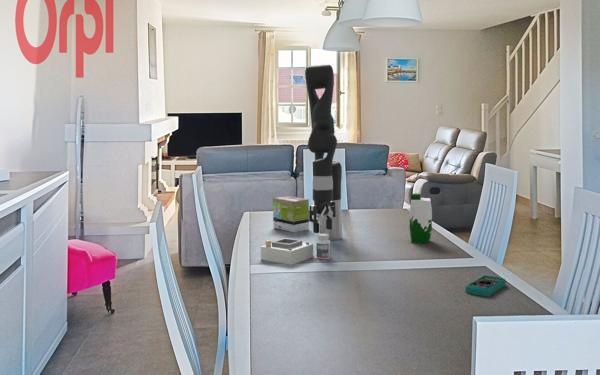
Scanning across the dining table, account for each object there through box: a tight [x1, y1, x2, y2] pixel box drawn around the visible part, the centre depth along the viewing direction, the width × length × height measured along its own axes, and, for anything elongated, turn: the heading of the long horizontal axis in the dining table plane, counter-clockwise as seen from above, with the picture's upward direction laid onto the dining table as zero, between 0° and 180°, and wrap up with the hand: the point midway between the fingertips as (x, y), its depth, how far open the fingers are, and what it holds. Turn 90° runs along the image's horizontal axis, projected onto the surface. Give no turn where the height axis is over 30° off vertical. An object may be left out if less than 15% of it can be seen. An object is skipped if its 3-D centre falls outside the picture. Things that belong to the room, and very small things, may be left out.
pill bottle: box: [316, 233, 332, 260], centre depth 218 cm, size 5×5×9 cm
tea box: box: [272, 195, 310, 233], centre depth 274 cm, size 15×10×15 cm, turn 43°
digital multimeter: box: [465, 274, 507, 297], centre depth 178 cm, size 7×15×3 cm, turn 141°
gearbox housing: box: [260, 237, 314, 266], centre depth 218 cm, size 14×14×7 cm
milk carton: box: [409, 193, 433, 245], centre depth 243 cm, size 9×9×20 cm
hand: (322, 231), depth 218 cm, fingers open, 8 cm apart
